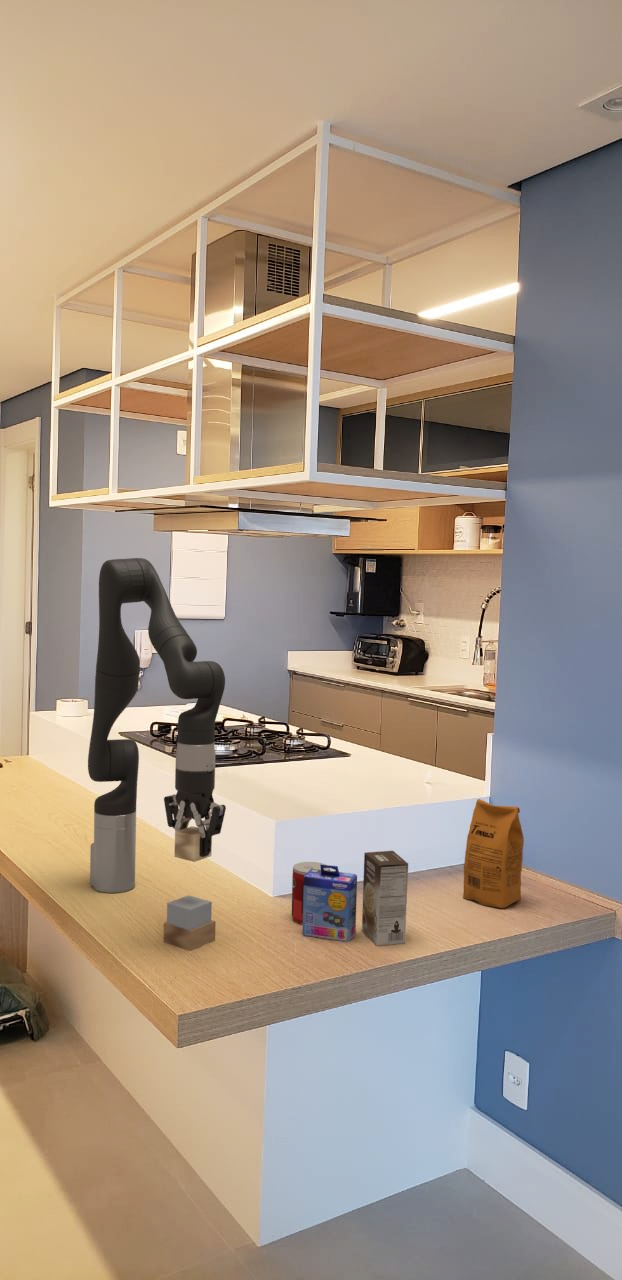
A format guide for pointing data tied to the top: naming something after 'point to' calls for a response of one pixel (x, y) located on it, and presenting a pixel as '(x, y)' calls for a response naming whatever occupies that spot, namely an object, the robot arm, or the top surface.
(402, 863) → the coffee box
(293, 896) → the canned food
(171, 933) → the tower base
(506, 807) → the coffee package
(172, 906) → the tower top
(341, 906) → the ink cartridge box
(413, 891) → the top surface
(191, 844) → the oak cube
